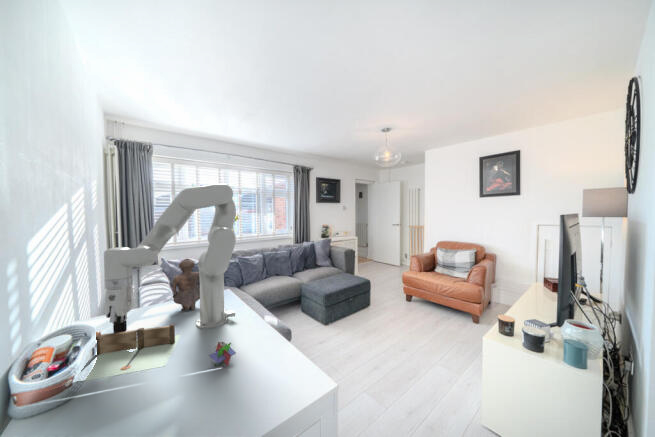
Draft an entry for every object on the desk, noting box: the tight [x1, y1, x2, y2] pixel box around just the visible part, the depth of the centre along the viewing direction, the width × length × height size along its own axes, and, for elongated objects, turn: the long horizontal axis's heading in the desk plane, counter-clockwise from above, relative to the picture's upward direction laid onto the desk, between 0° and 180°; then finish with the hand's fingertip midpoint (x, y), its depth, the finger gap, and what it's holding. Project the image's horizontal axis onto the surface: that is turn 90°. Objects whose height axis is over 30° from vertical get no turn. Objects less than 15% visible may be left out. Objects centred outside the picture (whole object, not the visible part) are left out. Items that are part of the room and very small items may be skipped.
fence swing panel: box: [95, 329, 137, 356], centre depth 80 cm, size 12×2×8 cm, turn 109°
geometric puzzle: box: [208, 341, 237, 367], centre depth 75 cm, size 7×7×8 cm
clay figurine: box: [171, 258, 200, 312], centre depth 116 cm, size 13×10×25 cm
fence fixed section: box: [136, 323, 176, 350], centre depth 84 cm, size 11×2×7 cm, turn 109°
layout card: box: [84, 334, 182, 382], centre depth 79 cm, size 23×20×1 cm
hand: (120, 332), depth 85 cm, fingers closed
